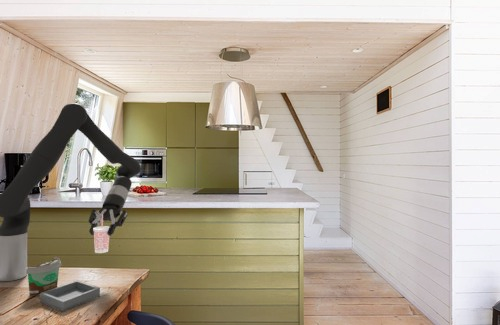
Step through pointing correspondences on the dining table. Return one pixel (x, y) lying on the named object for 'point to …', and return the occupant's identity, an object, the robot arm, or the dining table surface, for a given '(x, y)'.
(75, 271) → the dining table surface
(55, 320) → the dining table surface
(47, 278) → the food container
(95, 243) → the beverage cup
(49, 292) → the tray
